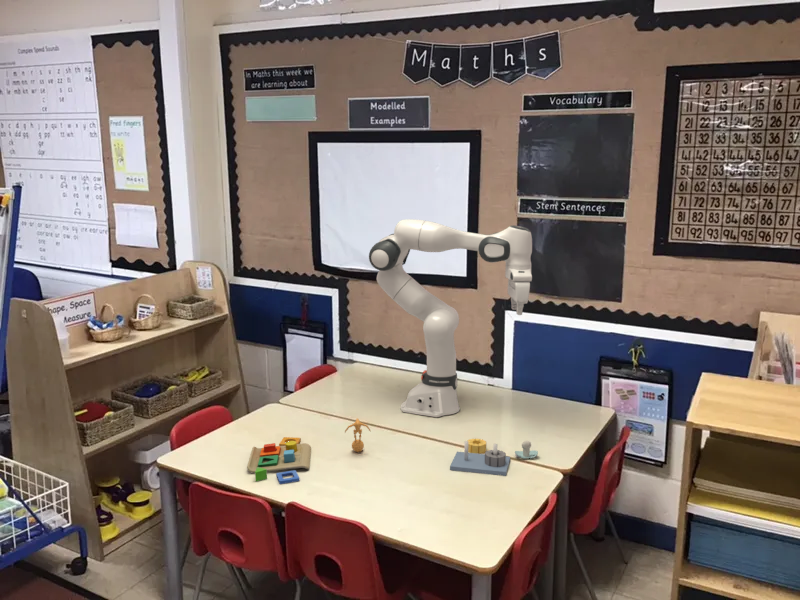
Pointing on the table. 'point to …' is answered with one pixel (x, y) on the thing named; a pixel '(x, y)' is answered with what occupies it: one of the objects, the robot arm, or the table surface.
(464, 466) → the gear board
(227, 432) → the table surface
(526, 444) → the pacifier
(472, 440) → the ochre gear
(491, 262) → the robot arm
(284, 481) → the shape sorter
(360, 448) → the figurine
